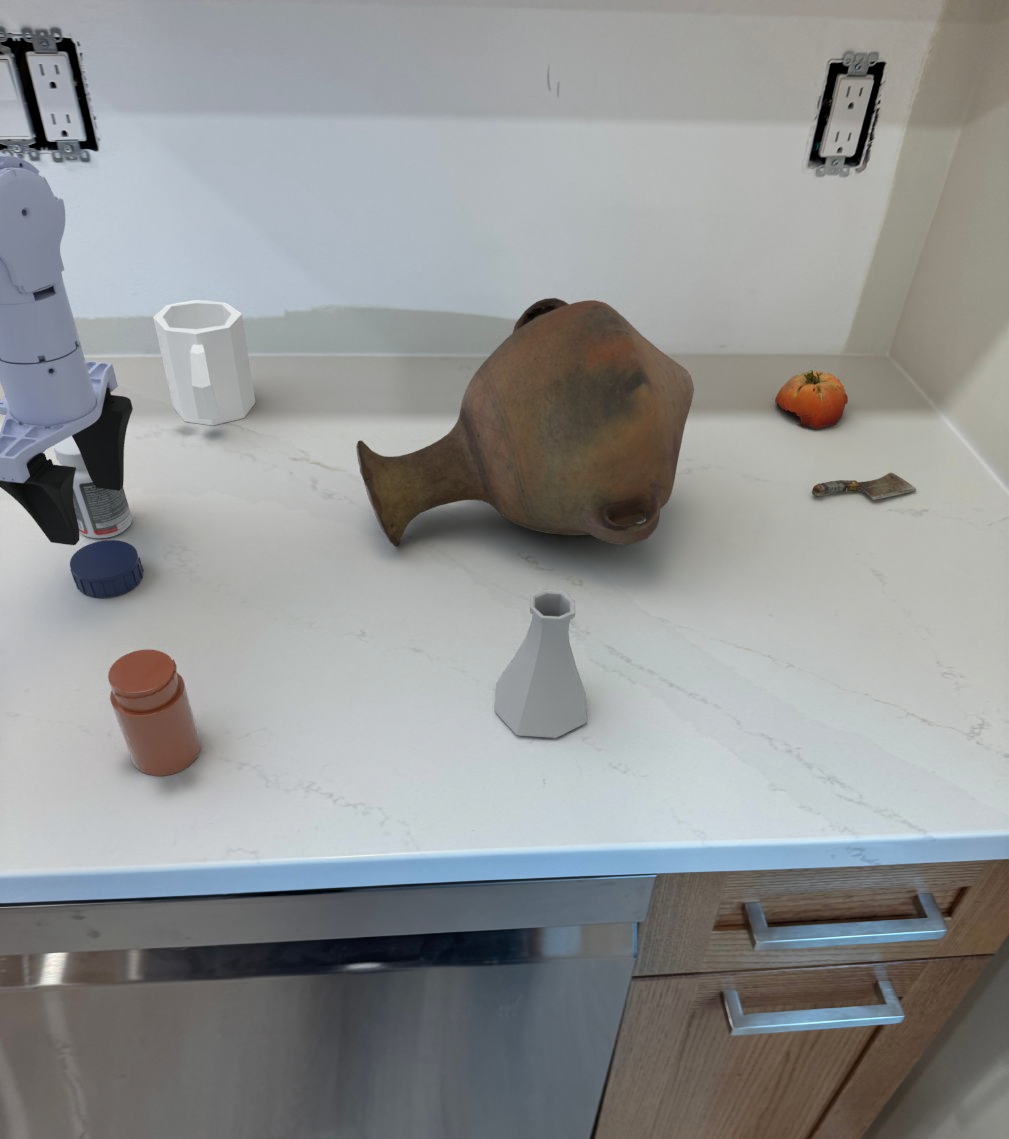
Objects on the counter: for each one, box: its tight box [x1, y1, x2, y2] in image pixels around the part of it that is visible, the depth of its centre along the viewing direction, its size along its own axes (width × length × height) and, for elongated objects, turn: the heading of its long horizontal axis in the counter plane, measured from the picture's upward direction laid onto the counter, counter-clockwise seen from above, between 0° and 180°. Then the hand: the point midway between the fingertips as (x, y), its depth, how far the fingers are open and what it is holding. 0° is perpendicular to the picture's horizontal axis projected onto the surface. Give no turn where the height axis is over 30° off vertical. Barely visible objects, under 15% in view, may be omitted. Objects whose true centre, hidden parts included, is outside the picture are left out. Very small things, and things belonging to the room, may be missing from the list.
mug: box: [152, 299, 256, 426], centre depth 92 cm, size 12×9×10 cm
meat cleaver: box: [811, 472, 917, 500], centre depth 91 cm, size 12×1×5 cm
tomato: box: [774, 367, 849, 430], centre depth 102 cm, size 8×7×7 cm
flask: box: [494, 588, 588, 739], centre depth 64 cm, size 7×7×10 cm
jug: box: [355, 297, 695, 547], centre depth 78 cm, size 20×20×30 cm
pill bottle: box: [52, 436, 133, 539], centre depth 77 cm, size 5×5×8 cm
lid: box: [69, 539, 144, 599], centre depth 74 cm, size 5×5×2 cm
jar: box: [107, 649, 202, 777], centre depth 59 cm, size 5×5×8 cm
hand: (88, 513), depth 70 cm, fingers open, 7 cm apart
